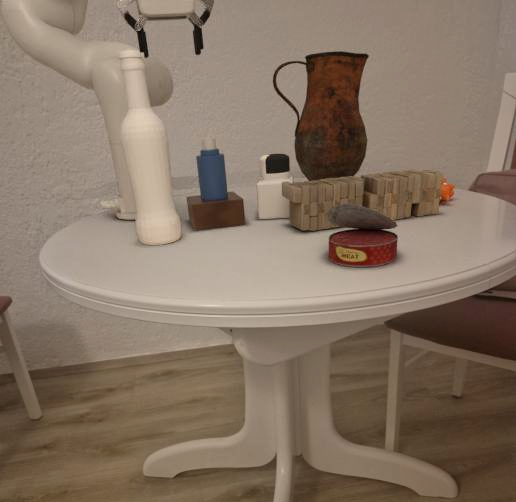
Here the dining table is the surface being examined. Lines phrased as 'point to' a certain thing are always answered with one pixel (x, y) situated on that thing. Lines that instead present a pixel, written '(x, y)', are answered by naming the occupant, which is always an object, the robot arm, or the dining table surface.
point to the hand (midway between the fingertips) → (172, 55)
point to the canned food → (361, 237)
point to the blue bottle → (211, 171)
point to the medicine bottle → (273, 186)
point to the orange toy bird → (446, 190)
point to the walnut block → (216, 212)
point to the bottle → (147, 158)
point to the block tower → (364, 196)
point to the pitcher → (330, 116)
